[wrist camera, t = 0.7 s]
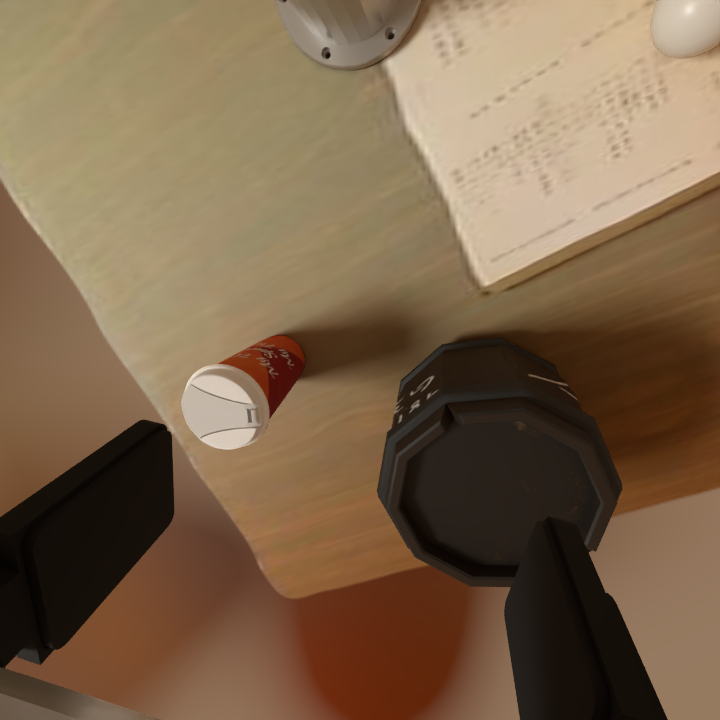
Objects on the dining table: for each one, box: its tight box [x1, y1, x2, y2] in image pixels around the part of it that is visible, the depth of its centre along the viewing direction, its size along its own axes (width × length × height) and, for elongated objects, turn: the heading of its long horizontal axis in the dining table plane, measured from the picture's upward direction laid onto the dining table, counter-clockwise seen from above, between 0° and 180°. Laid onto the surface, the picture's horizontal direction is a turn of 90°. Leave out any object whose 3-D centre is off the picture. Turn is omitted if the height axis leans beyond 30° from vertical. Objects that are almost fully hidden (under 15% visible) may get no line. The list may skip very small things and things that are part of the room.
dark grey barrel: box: [377, 338, 622, 587], centre depth 36 cm, size 18×18×16 cm
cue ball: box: [650, 0, 720, 59], centre depth 28 cm, size 6×6×6 cm
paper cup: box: [181, 335, 305, 450], centre depth 40 cm, size 8×8×14 cm
